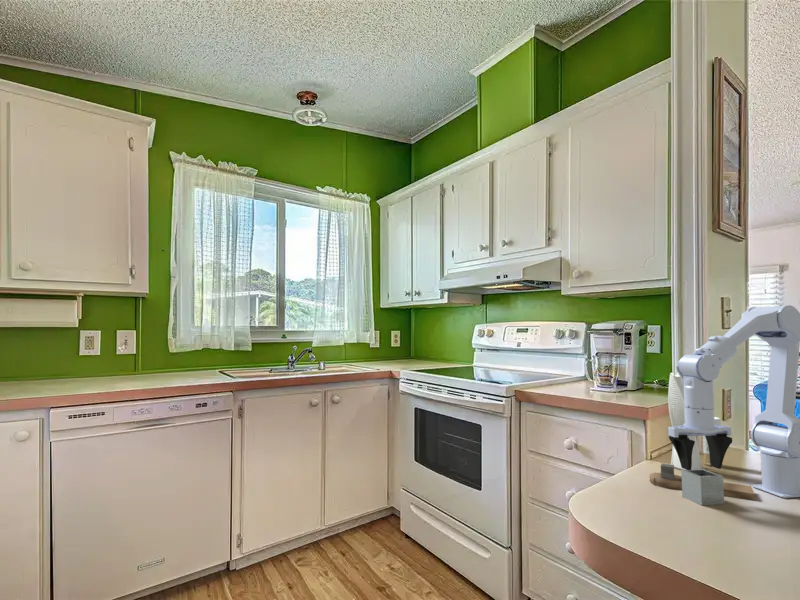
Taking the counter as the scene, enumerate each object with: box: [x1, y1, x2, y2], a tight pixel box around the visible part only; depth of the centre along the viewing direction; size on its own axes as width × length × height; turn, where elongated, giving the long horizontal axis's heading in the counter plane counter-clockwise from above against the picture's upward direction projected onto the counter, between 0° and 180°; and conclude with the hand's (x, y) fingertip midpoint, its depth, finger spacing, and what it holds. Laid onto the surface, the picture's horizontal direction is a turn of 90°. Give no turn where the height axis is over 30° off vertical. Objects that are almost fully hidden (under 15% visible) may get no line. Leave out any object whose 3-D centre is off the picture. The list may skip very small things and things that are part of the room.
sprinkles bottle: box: [702, 416, 723, 467], centre depth 132 cm, size 5×5×14 cm
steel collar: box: [680, 469, 725, 506], centre depth 104 cm, size 6×6×6 cm
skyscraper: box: [667, 372, 707, 471], centre depth 129 cm, size 8×8×28 cm
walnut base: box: [649, 463, 756, 501], centre depth 112 cm, size 21×8×4 cm, turn 59°
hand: (701, 468), depth 105 cm, fingers open, 7 cm apart
